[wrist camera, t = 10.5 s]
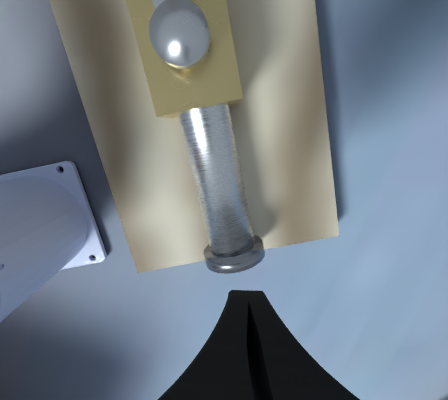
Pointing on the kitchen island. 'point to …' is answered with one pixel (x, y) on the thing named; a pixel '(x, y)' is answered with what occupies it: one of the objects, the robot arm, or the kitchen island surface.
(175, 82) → the valve pipe
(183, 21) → the valve lever
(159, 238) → the valve board
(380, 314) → the kitchen island surface
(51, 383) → the kitchen island surface
